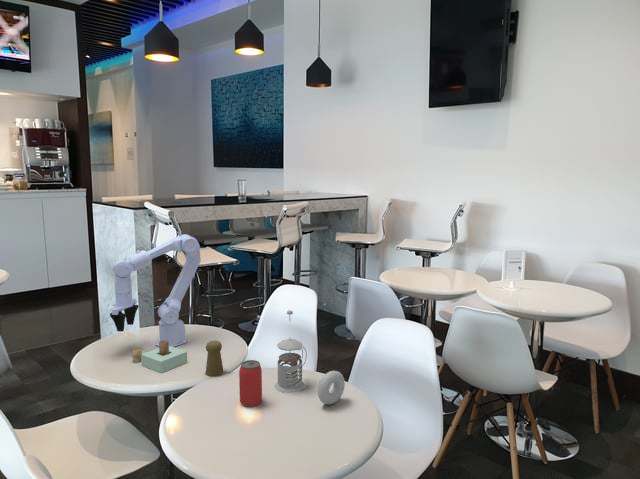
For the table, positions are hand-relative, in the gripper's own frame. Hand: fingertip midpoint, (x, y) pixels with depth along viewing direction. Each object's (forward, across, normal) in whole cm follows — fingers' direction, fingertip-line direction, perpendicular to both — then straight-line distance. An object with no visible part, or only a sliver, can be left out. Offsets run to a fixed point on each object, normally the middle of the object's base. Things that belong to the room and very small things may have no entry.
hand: (125, 327), depth 175 cm
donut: (+10, +33, +79) cm, 86 cm away
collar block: (+9, +10, +19) cm, 23 cm away
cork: (+10, +15, +38) cm, 43 cm away
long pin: (+9, +10, +19) cm, 23 cm away
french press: (+10, +22, +66) cm, 70 cm away
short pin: (+9, +8, +8) cm, 15 cm away
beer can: (+10, +34, +55) cm, 66 cm away
